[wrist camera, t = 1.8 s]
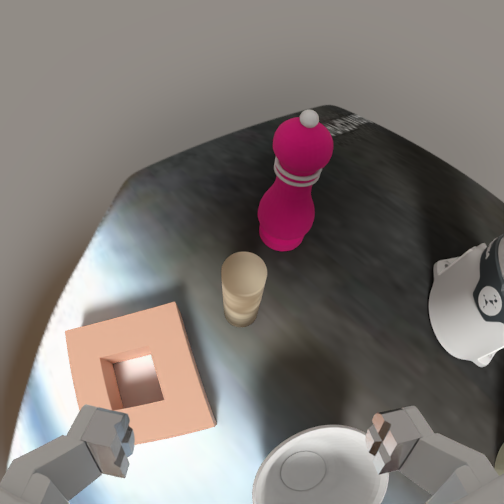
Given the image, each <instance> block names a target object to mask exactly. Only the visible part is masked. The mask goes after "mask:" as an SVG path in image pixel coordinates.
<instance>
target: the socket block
mask: <svg viewBox="0 0 504 504" xmlns="http://www.w3.org/2000/svg"><path fill="white" fill-rule="evenodd" d="M65 334H66V342H67V349H68V356H69V362H70V368H71V373H72V378H73V383H74V388H75V393H76V397H77V402H78V406H79V410H81V408H82V407H83V406H84V405H85V404H87V405H91V406H95V407H100V408H104V409H109V410H113V411H118V412H123V413H126V414H128V416H129V419H130V422H129V426H130V427H131V428H132V429H133V432H134V437H135V443H134V445H136V444H141V443H147V442H152V441H157V440H162V439H167V438H171V437H176V436H180V435H184V434H188V433H193V432H196V431H200V430H204V429H208V428H211V427H215V426H216V425H217V423H216V420H215V418H214V415H213V412H212V409H211V407H210V404H209V401H208V398H207V395H206V392H205V390H204V387H203V384H202V381H201V378H200V375H199V372H198V369H197V365H196V362H195V359H194V356H193V353H192V350H191V346H190V343H189V340H188V336H187V333H186V330H185V326H184V323H183V319H182V316H181V312H180V310H179V308H178V306H177V304H176V302H171V303H168V304H164V305H161V306H157V307H153V308H150V309H146V310H143V311H139V312H135V313H132V314H128V315H124V316H120V317H117V318H113V319H109V320H106V321H102V322H98V323H94V324H90V325H87V326H83V327H79V328H75V329H71V330H67V331H65ZM150 354H151V355H152V359H153V363H154V366H155V370H156V374H157V377H158V381H159V384H160V387H161V391H162V394H163V397H164V400H161V401H157V402H153V403H149V404H144V405H139V406H135V407H130V408H125V409H124V407H123V403H122V400H121V396H120V392H119V389H118V385H117V381H116V376H115V372H114V368H113V363H117V362H121V361H126V360H130V359H134V358H138V357H142V356H146V355H150Z"/></svg>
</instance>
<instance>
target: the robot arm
mask: <svg viewBox="0 0 504 504" xmlns="http://www.w3.org/2000/svg"><path fill="white" fill-rule="evenodd" d="M433 272H434V283H433V286H432V289H431V292H430V296H429V315H430V321H431V324H432V328H433V330H434V333H435V335H436V337H437V339H438V340H439V342H440V344H441V345H442V346H443V347H444V349H445V350H446V351H447V352H449V353H450V354H451V355H453V356H454V357H456V358H459V359H464V360H470V361H472V362H474V363H475V364H476V365H478V366H479V367H484V366H486V365H488V364H489V362H490V361H491V359H492V357H493V356H494V354H495V353H496V351H498V350H500V349H502V348H504V234H502V235H500V236H499V237H498V238H496V239H494V240H493V241H492V242H491V243H490V244H489V246H488V247H487V246H486V244H485V243H482V244H480V245H479V246H477V247H476V246H474V247H472V248H471V249H469V250H468V251H466V252H465V253H464V254H463V255H462V256H460V257H456V258H450V259H445V260H440V261H438V262H436V263H435V264H434V268H433ZM129 422H130V419H129V416H128V414H126V413H123V412H118V411H113V410H109V409H104V408H100V407H95V406H91V405H87V404H85V405H84V406H83V407H82V408H81V410H80V412H79V414H78V415H77V417H76V419H75V421H74V423H73V424H72V426H71V428H70V430H69V432H68V434H67V436H64V435H62V436H60V437H58V438H56V439H54V440H52V441H51V442H49V443H47V444H45V445H43V446H41V447H39V448H37V449H35V450H33V451H31V452H29V453H27V454H25V455H23V456H21V457H19V458H17V459H14V460H13V461H12V463H11V465H10V467H9V468H8V470H7V472H6V474H5V476H4V477H3V479H2V481H1V483H0V504H70V503H69V502H68V501H69V500H70V499H72V498H73V497H74V496H75V495H77V494H78V493H79V492H81V491H82V490H83V489H84V488H86V487H87V486H88V485H89V484H91V483H92V482H93V481H94V480H96V479H97V478H98V477H99V476H100V475H102V474H101V473H103V474H107V475H112V476H116V477H121V478H125V477H126V473H127V470H128V467H129V462H128V459H127V457H129V456H130V455H131V454H132V453H133V450H134V443H135V437H134V432H133V429H132V428H131V427H130V426H129ZM372 422H373V424H374V425H372V426H371V427H370V428H369V429H368V431H367V434H366V441H365V442H366V447H367V450H368V452H369V453H370V454H372V455H373V456H374V459H373V461H372V462H373V464H374V466H375V468H376V471H377V473H378V475H380V474H384V473H388V472H392V471H396V470H399V471H400V472H401V473H402V474H404V475H405V476H406V477H408V478H409V479H411V480H412V481H413V482H415V483H416V484H417V485H419V486H420V487H422V488H423V489H424V490H426V491H427V492H429V493H430V494H431V495H433V496H432V497H431V498H430V499H429V500H428V501H427V502H426V503H425V504H504V473H503V474H502V475H500V476H499V475H498V473H497V472H496V471H495V469H494V468H493V466H492V465H491V463H490V462H489V461H488V459H487V458H486V456H485V455H484V454H482V453H480V452H477V451H475V450H473V449H471V448H468V447H466V446H464V445H462V444H460V443H458V442H455V441H453V440H451V439H449V438H447V437H445V436H443V435H441V434H439V433H436V434H434V432H433V431H432V429H431V428H430V426H429V425H428V423H427V422H426V420H425V419H424V417H423V416H422V415H421V413H420V412H419V410H418V409H417V407H415V406H409V407H405V408H399V409H395V410H390V411H385V412H380V413H377V414H375V415H374V417H373V420H372Z"/></svg>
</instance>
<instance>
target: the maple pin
mask: <svg viewBox="0 0 504 504" xmlns="http://www.w3.org/2000/svg"><path fill="white" fill-rule="evenodd" d="M221 276H222V290H223V303H224V314H225V317H226V319H227V321H228V322H229V323H230V324H231V325H233V326H236V327H246V326H249V325H250V324H252V323H253V322H254V321H255V319H256V317H257V313H258V309H259V305H260V302H261V298H262V294H263V290H264V286H265V282H266V278H267V268H266V265H265V263H264V261H263V260H262V259H261V258H260V257H259V256H257V255H256V254H253V253H250V252H237V253H234V254H232V255H230V256H229V257H228V258H227V259H226V260H225V261H224V263H223V265H222V269H221Z"/></svg>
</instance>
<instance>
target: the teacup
mask: <svg viewBox="0 0 504 504" xmlns="http://www.w3.org/2000/svg"><path fill="white" fill-rule="evenodd" d="M365 441H366V433H364V432H363V431H361V430H358V429H356V428H353V427H349V426H344V425H323V426H317V427H313V428H309V429H307V430H304V431H301V432H299V433H297V434H295V435H293V436H291V437H289V438H288V439H286V440H285V441H283V442H282V443H281V444H279V445H278V446H277V447H276V448H275V449H274V450H272V451H271V452H270V453H269V455H268V456H267V457H266V458H265V460H264V461H263V462H262V464H261V466H260V467H259V469H258V472H257V474H256V476H255V480H254V484H253V491H252V499H253V504H381V502H382V500H383V498H384V495H385V493H386V490H387V486H388V479H389V472H388V473H384V474H380V475H378V473H377V471H376V468H375V466H374V464H373V462H372V461H373V459H374V456H373V455H372V454H370V453H369V452H368V450H367V447H366V442H365Z"/></svg>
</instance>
